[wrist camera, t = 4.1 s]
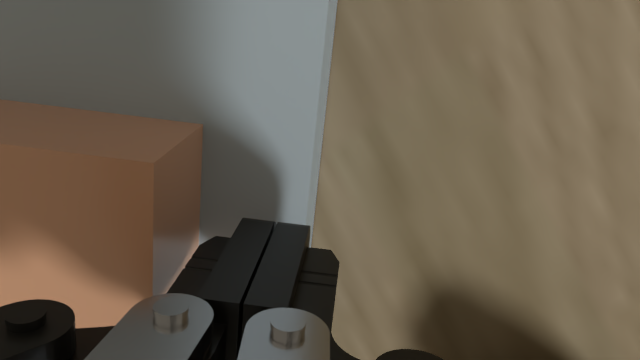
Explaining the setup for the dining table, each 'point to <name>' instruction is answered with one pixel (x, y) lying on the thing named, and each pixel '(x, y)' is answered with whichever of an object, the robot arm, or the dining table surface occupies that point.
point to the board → (192, 86)
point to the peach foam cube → (95, 207)
